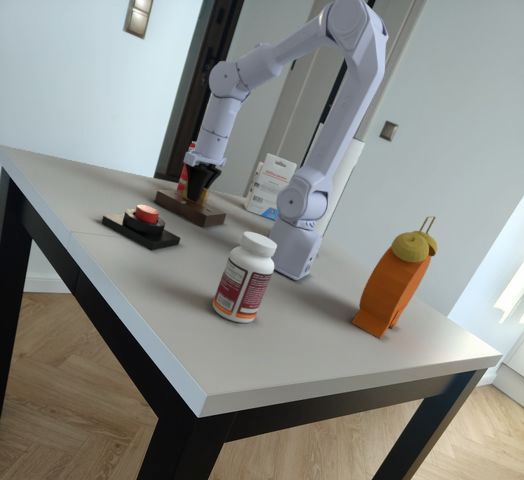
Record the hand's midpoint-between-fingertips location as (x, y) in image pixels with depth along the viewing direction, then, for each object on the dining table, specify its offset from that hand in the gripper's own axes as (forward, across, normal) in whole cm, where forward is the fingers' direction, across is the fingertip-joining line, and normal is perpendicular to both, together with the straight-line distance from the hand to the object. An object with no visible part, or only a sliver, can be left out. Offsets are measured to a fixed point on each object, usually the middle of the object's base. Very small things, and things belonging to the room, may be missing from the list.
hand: (193, 199), depth 104 cm
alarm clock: (+3, +10, +44) cm, 46 cm away
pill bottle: (+3, +35, +27) cm, 44 cm away
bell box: (+3, +24, +4) cm, 25 cm away
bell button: (0, +24, +4) cm, 25 cm away
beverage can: (+3, -10, -7) cm, 13 cm away
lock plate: (+3, 0, 0) cm, 3 cm away
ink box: (+3, -30, +5) cm, 30 cm away
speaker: (+3, -15, +20) cm, 25 cm away
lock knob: (0, 0, 0) cm, 0 cm away
